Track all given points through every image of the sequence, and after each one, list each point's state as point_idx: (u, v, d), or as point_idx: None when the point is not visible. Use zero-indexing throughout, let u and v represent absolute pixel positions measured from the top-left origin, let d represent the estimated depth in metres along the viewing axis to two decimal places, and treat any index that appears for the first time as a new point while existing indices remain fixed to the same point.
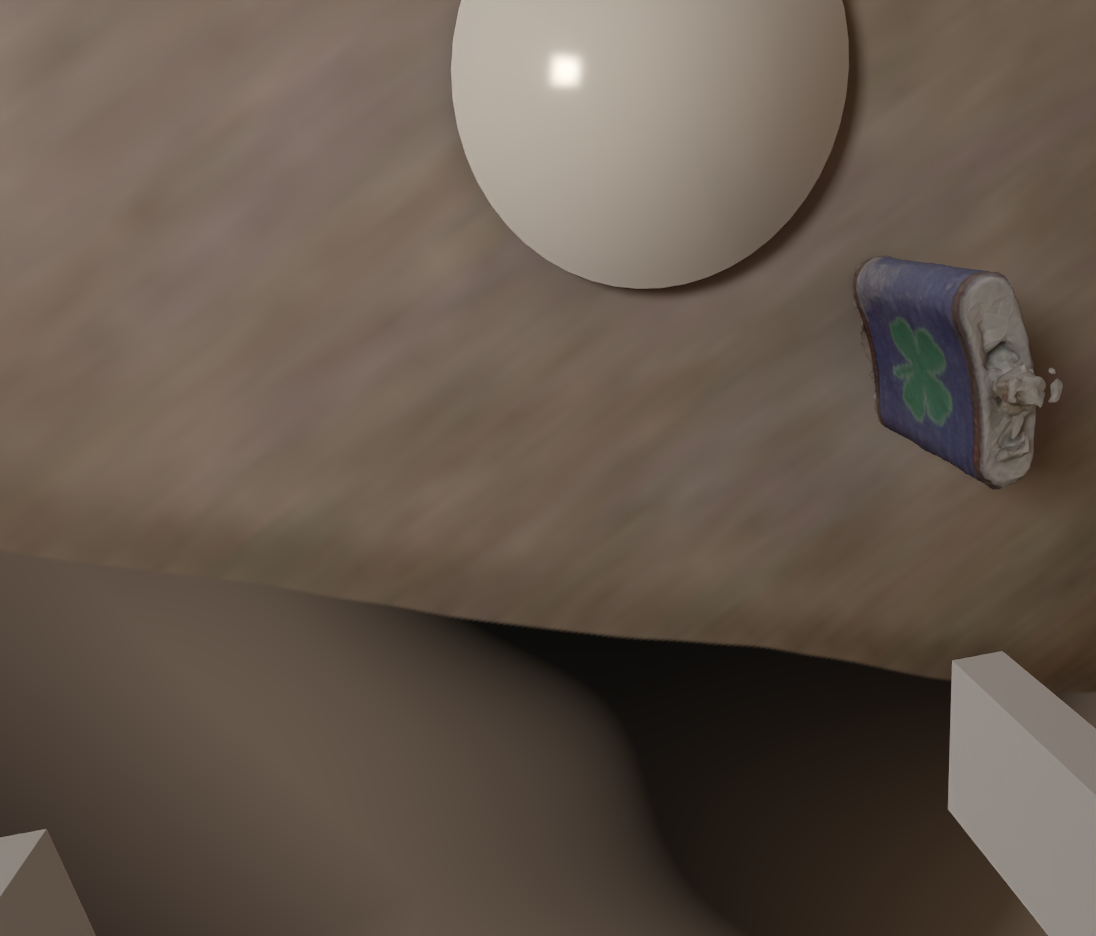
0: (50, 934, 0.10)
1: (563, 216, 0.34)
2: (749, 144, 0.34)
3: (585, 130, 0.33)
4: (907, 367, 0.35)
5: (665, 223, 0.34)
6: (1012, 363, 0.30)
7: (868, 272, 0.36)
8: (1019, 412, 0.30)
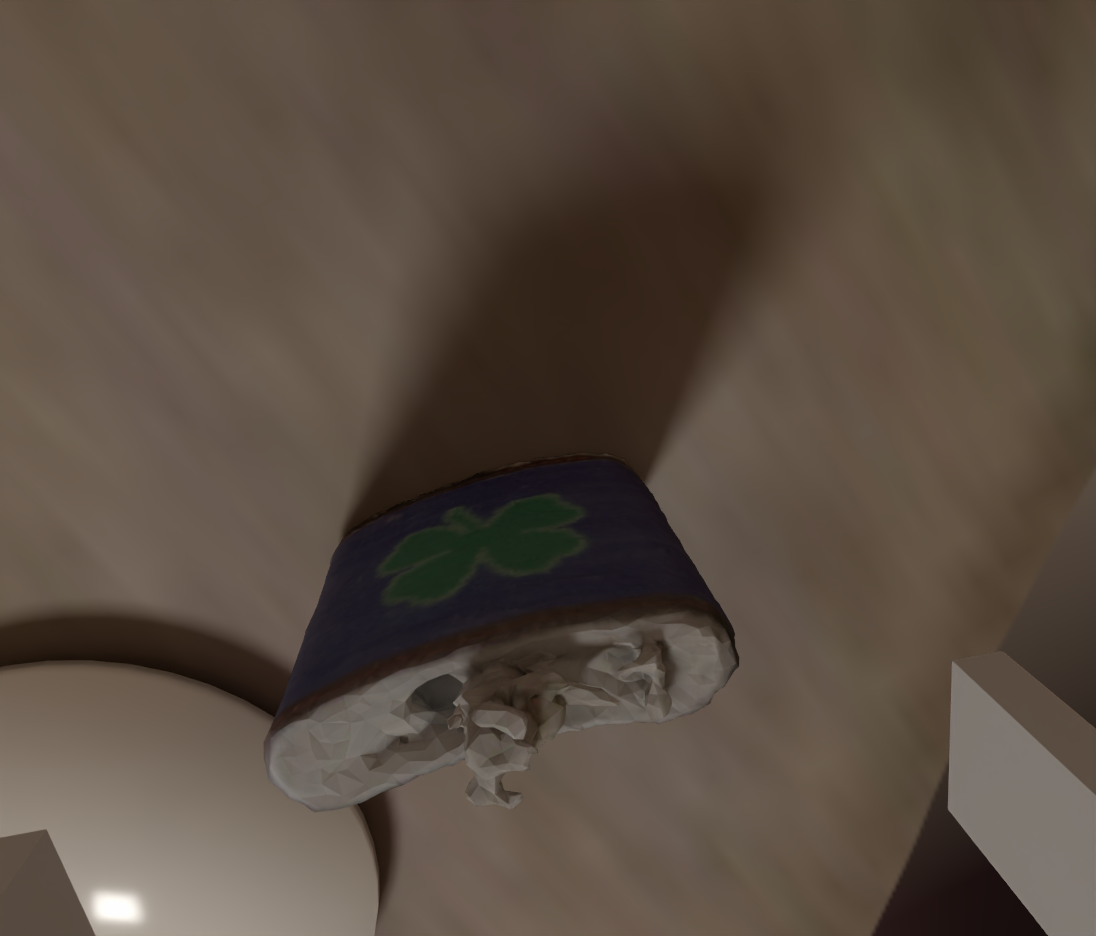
0: (50, 934, 0.10)
1: None
2: (165, 794, 0.23)
3: None
4: None
5: (286, 884, 0.24)
6: None
7: None
8: (558, 707, 0.13)
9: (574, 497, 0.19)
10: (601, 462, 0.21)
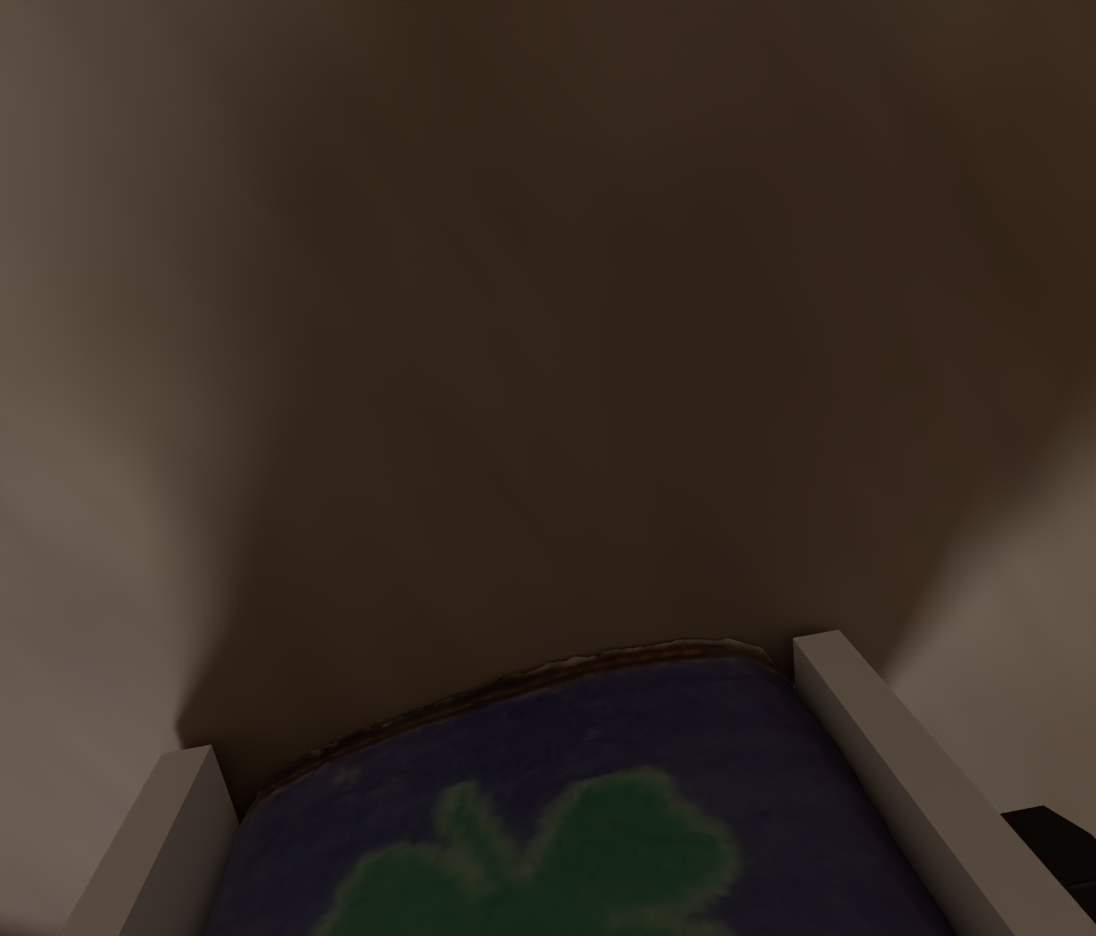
0: (218, 836, 0.12)
1: None
2: None
3: None
4: None
5: None
6: None
7: None
8: None
9: (702, 785, 0.09)
10: (728, 666, 0.12)
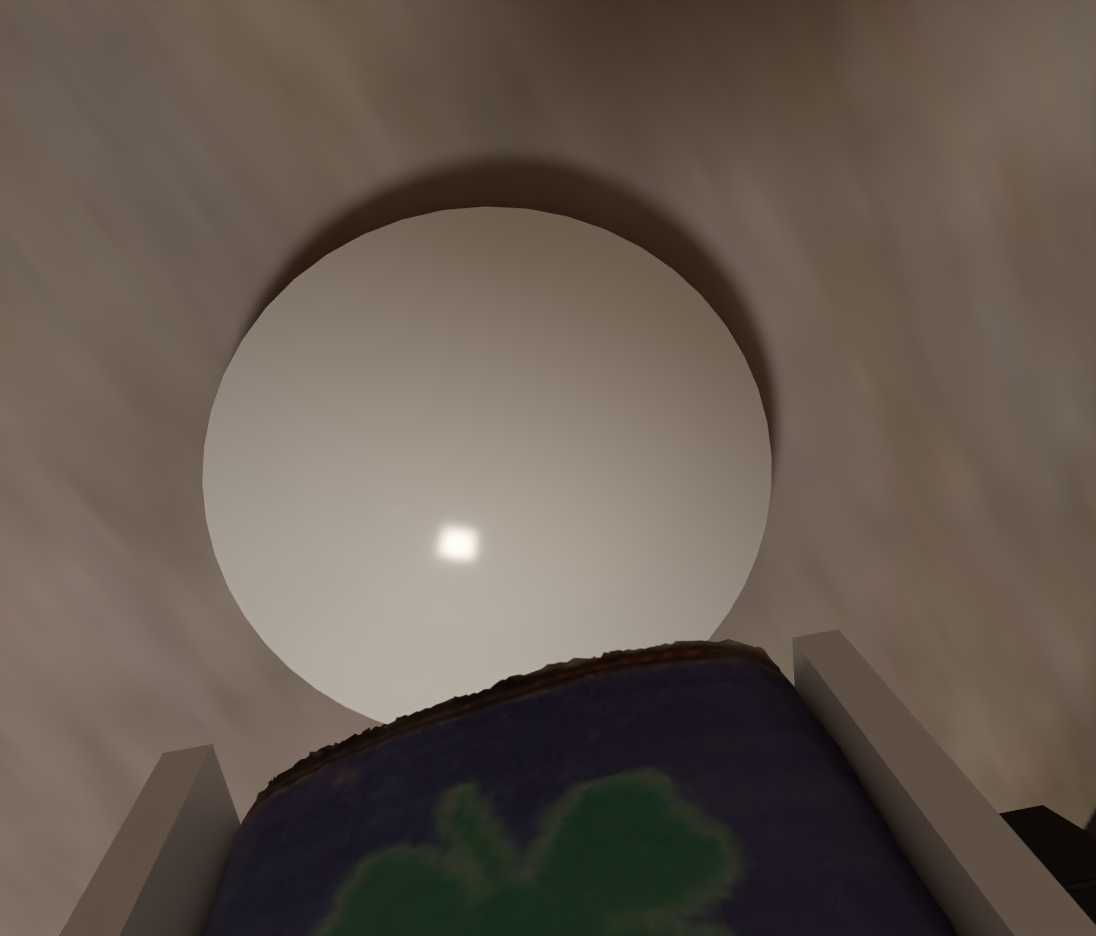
0: (219, 836, 0.12)
1: (656, 618, 0.25)
2: (586, 365, 0.22)
3: (551, 591, 0.24)
4: None
5: (683, 485, 0.24)
6: None
7: None
8: None
9: (703, 787, 0.09)
10: (729, 667, 0.12)
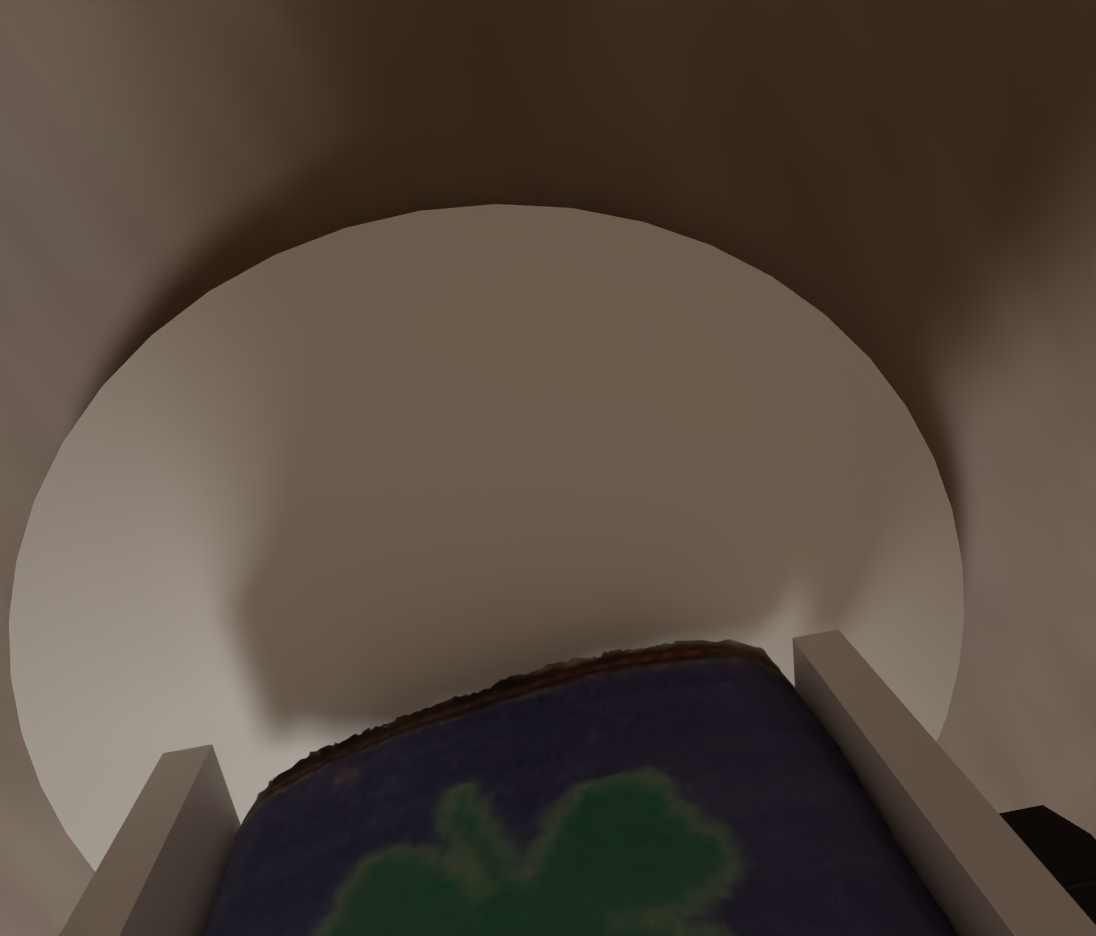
0: (219, 836, 0.12)
1: None
2: (668, 476, 0.13)
3: None
4: None
5: None
6: None
7: None
8: None
9: (703, 786, 0.09)
10: (729, 667, 0.12)
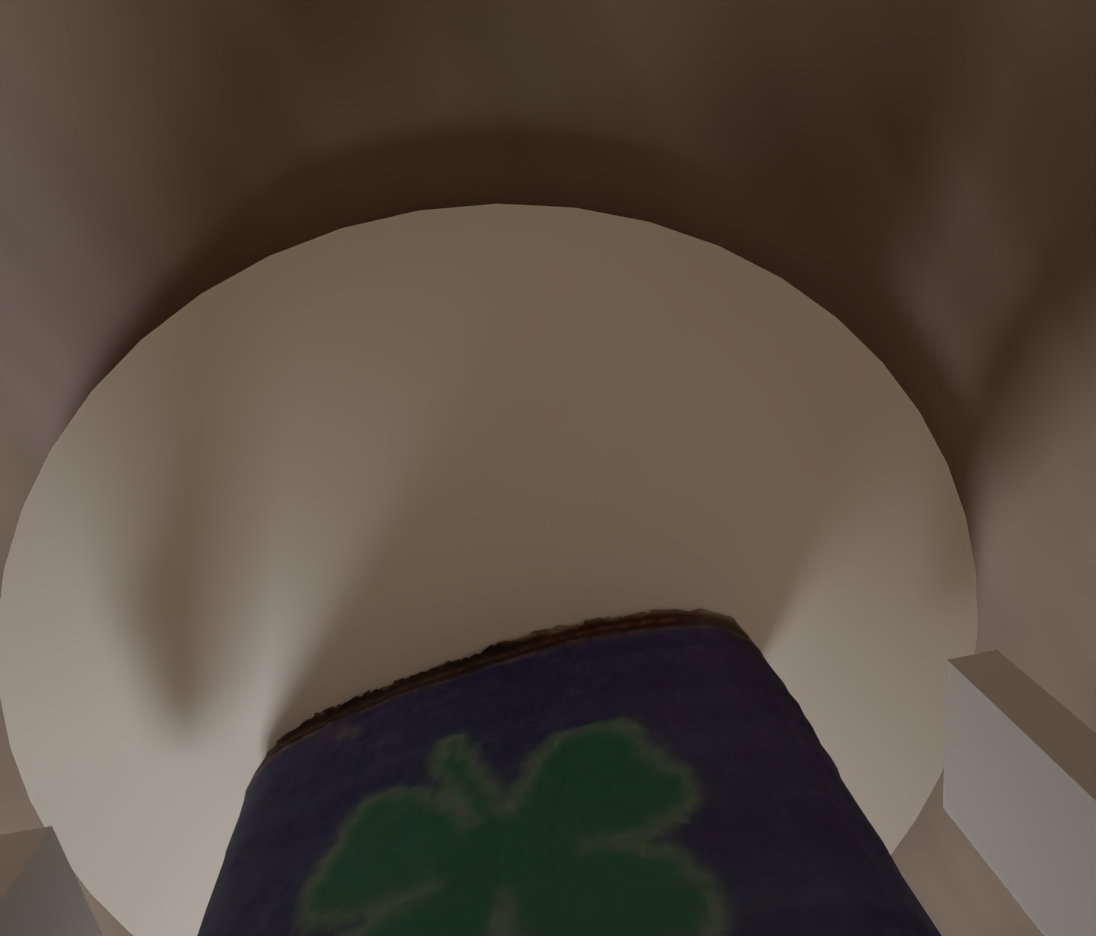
0: (56, 930, 0.10)
1: None
2: (674, 483, 0.13)
3: None
4: None
5: (828, 673, 0.14)
6: None
7: None
8: None
9: (670, 734, 0.10)
10: (700, 632, 0.13)
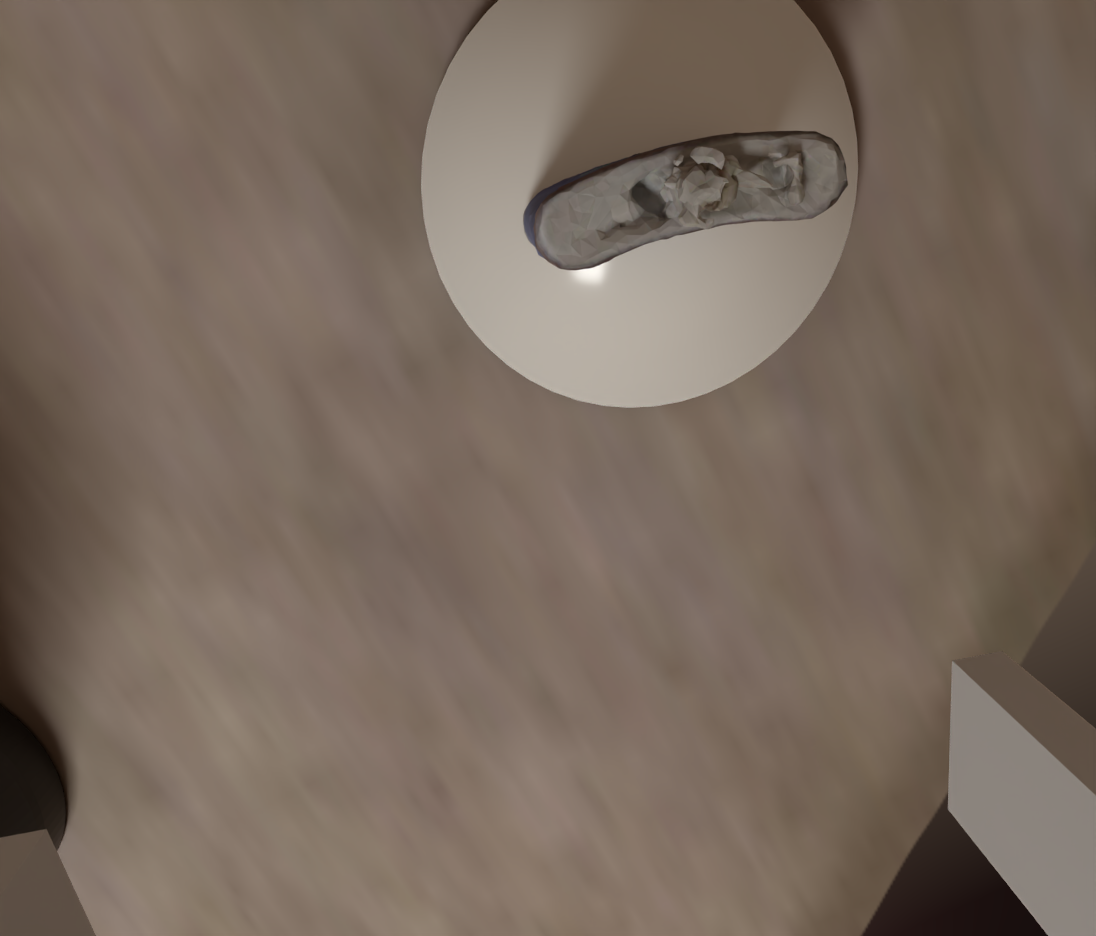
0: (50, 934, 0.10)
1: (756, 307, 0.32)
2: (721, 78, 0.29)
3: (677, 275, 0.31)
4: None
5: None
6: (664, 176, 0.22)
7: None
8: (734, 182, 0.21)
9: None
10: None
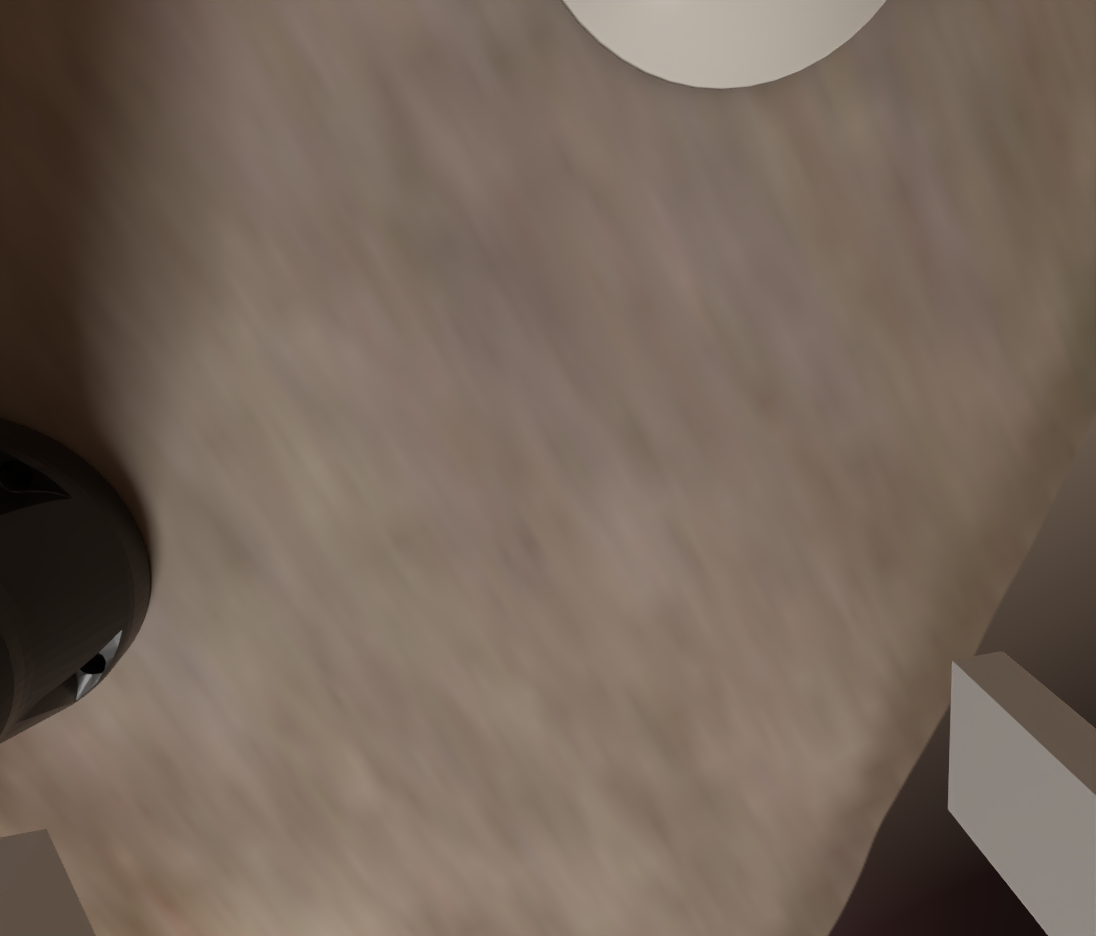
0: (50, 934, 0.10)
1: None
2: None
3: None
4: None
5: None
6: None
7: None
8: None
9: None
10: None
